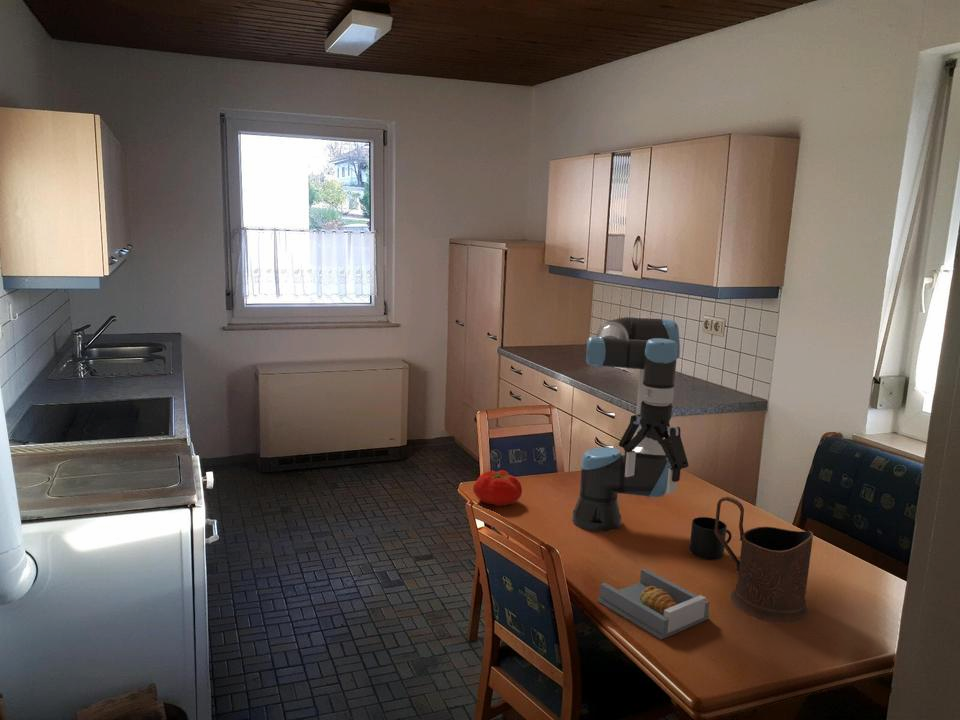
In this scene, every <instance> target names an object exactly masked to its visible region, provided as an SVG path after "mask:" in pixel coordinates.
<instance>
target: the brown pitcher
mask: <svg viewBox="0 0 960 720" xmlns="http://www.w3.org/2000/svg"><path fill="white" fill-rule="evenodd" d="M725 501H727V502H730V503H732V504H735V505H736V506H737V507H738V509H739V511H740V514H739V520H738V521H739V522H738V528H739V537H740V539H739V541H741V546H740V556H739V558H738V557H737V556H736V554H735V553H734V551H733V550H732V549H731V547H730V546H729V545H728V544H729V543H726V542H725V541H726V539H725V540H724V539H723V537H722V536H721V535H720V533H719V531H718V525H719V520H720V516H721V515H720V514H721V508H722V507H721V505H722V503H723V502H725ZM744 514H745V509H744V506H743V504H742V503H741V502H740V501H739V500H737V499H735V498H734V497H730V496H725V497H721V498H720V499H719V500H718V501H717V504H716V514H715V519H716V521H715V531H714V532H715V535H716V537H717V538H718V539H719V541H720V542H721V543H722V545H723V546H724V550H726V552H727V554H729V557H731V559H732V560H733V561H734V563H735V565H736V568H735V571H736V572H738V575H737V583H736V584H735V588H734V589H733V590H732V591H731V592H730V596H729V599H730V602H731V603H732V605H733V606H734V607H735V608H736V609H737V610H739V611H740V612H742V613H743V614H745V615H747V616H749V617H751V618H755V619H757V620H760V621H763V622H768V623H773V624H779V625H793V624H797V623H802V622H804V621H805V620H807V619H808V617H809V616H810V611H809V610H810V609H809V608H808V606H807V602H806V601H807V599H806V592H807V585H808V578H809V577H808V576H809V569H810V562H811V555H812V546H813V539H814V532H813V531H811V530H808V531H807V530H806V531H805V530H803V531H797V530H790V529H784V528H779V527H774V526H757V527H753V528H751V529H747V530H746V531H745V530H744V527H743V524H744Z"/></svg>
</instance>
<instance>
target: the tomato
mask: <svg viewBox="0 0 960 720" xmlns="http://www.w3.org/2000/svg"><path fill="white" fill-rule="evenodd" d="M472 489H473V490H472V491H473V493H474V494H475V496H476V497H477V498H478V499H479V500H480V501H482V502H483V503H485V504H487V505H494V506H497V507H502V506H503V507H504V506H507V505H511V504H513V503H515V502H517V501H518V500H519V499H520V498H521V496H522V493H523V488H522V484H521V482H520V481H519V480H518V478H517V477H516V476H515V475H514V476H513V475H511V474H510V473H509V472H507V471H506V470H502V469H500V470H498V471H494V470H487V471H485V472H483V473H482V474H481V475H479V477H478V478H477V480H476V481H475V482H474V484H473V487H472Z"/></svg>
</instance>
